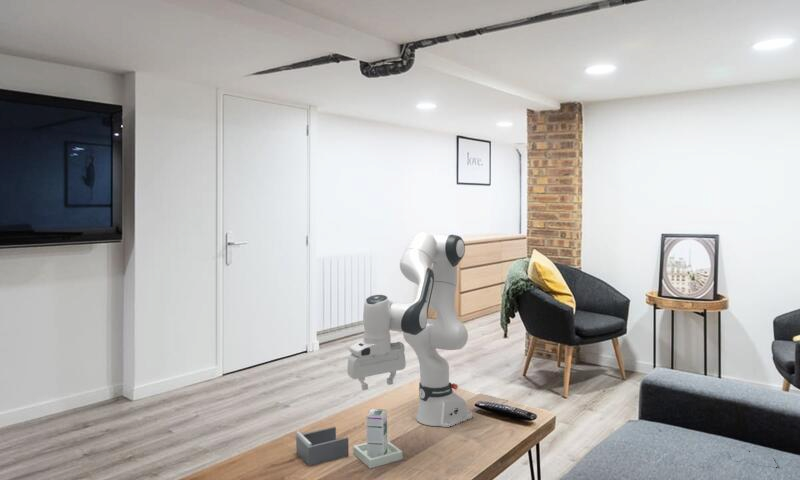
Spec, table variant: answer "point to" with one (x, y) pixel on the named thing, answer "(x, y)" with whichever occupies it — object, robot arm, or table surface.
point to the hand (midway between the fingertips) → (377, 386)
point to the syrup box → (376, 433)
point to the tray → (391, 456)
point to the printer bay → (320, 446)
